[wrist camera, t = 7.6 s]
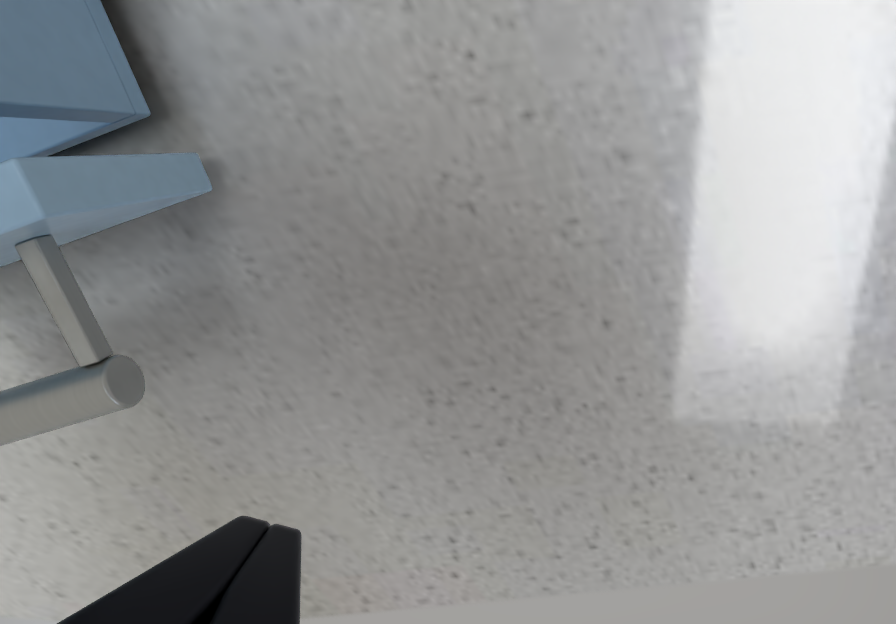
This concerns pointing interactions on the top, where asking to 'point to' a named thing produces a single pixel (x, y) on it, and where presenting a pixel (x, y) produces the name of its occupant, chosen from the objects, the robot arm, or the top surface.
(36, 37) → the blue drawer
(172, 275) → the top surface
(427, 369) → the top surface
